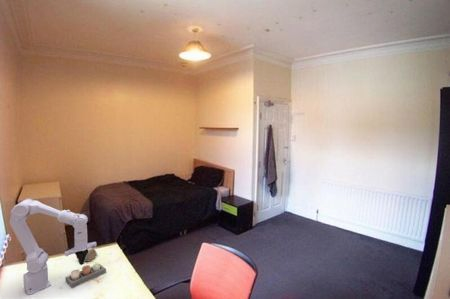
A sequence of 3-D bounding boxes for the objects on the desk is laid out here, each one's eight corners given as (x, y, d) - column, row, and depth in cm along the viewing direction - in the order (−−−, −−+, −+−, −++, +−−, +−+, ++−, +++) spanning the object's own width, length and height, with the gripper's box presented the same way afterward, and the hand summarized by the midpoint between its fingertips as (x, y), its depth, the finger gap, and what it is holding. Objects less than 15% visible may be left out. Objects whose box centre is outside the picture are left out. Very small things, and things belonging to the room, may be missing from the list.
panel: (71, 288, 121) (71, 283, 121) (65, 281, 126) (65, 277, 126) (106, 272, 134) (105, 268, 134) (99, 267, 139) (99, 263, 139)
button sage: (94, 275, 132) (94, 268, 131) (91, 272, 134) (91, 265, 133) (101, 272, 134) (101, 265, 134) (98, 269, 137) (98, 263, 136)
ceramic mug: (87, 263, 143) (87, 251, 142) (76, 261, 145) (75, 249, 144) (100, 255, 153) (100, 243, 153) (89, 253, 155) (89, 241, 155)
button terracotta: (84, 277, 127) (83, 269, 127) (81, 274, 130) (80, 267, 129) (91, 274, 130) (91, 266, 130) (88, 271, 132) (88, 264, 132)
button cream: (73, 282, 123) (72, 274, 123) (70, 279, 126) (70, 271, 125) (80, 278, 126) (80, 271, 126) (77, 276, 128) (77, 268, 128)
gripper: (68, 246, 119) (69, 272, 120) (98, 236, 130) (99, 260, 131) (62, 241, 123) (63, 267, 124) (92, 232, 134) (93, 256, 135)
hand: (81, 263), depth 128 cm, fingers closed
